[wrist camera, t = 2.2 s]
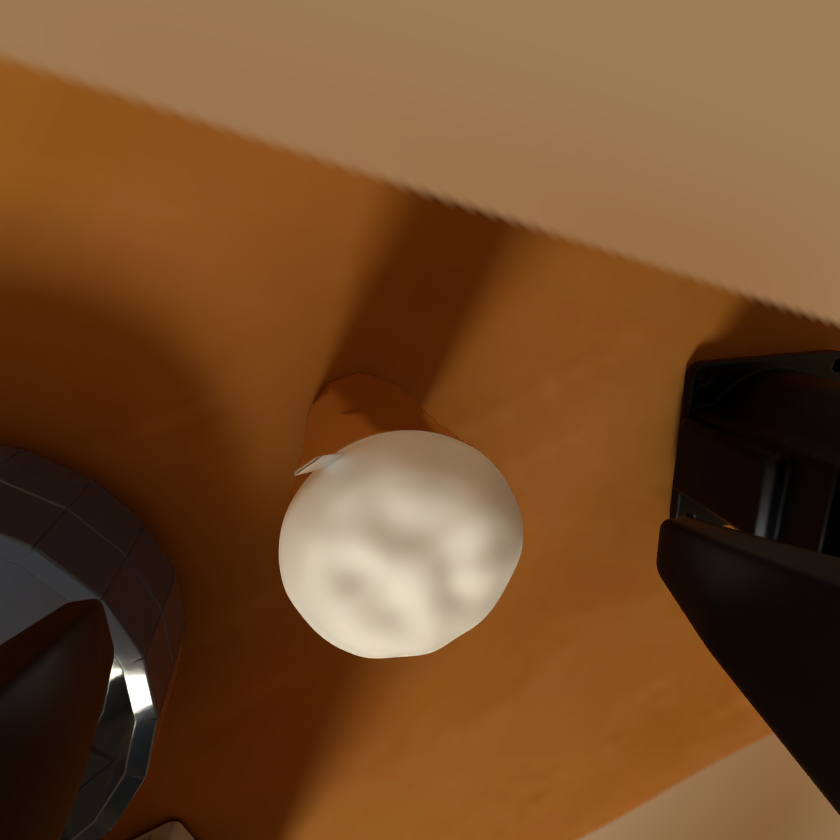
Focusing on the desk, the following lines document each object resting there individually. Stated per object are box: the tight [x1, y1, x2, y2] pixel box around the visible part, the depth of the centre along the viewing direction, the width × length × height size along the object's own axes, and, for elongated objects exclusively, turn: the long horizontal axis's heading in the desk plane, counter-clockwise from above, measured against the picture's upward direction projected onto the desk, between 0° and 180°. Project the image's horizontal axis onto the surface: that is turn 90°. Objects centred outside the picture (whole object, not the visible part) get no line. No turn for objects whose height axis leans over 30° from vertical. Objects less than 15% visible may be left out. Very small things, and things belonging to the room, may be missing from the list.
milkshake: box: [279, 372, 523, 658], centre depth 13 cm, size 4×5×10 cm
